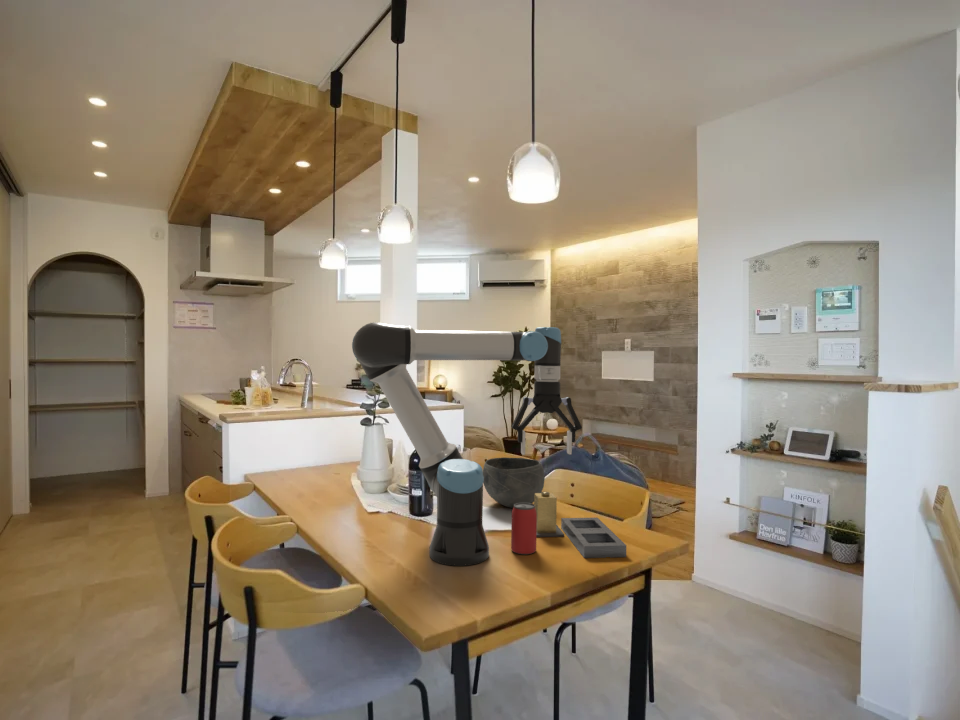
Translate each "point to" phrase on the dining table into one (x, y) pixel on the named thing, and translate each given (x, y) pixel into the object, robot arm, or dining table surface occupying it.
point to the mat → (557, 534)
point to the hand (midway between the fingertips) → (546, 453)
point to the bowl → (513, 480)
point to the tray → (593, 538)
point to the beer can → (523, 528)
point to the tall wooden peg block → (545, 512)
